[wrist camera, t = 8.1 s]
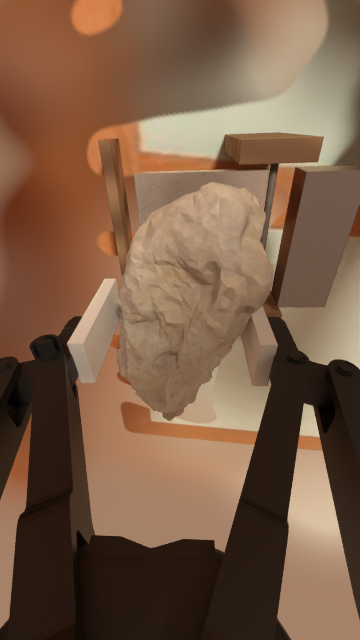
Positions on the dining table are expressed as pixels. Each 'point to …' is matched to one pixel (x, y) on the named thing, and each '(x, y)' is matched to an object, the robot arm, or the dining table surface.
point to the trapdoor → (300, 224)
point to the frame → (237, 147)
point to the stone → (190, 292)
